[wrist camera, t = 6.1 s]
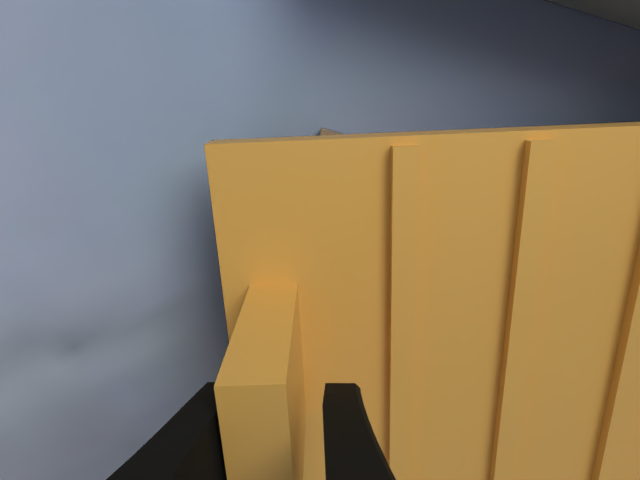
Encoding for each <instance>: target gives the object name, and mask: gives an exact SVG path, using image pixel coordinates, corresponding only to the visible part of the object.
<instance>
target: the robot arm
mask: <svg viewBox="0 0 640 480" xmlns="http://www.w3.org/2000/svg"><path fill="white" fill-rule="evenodd" d="M214 384H215V383H214V382H208V383H207V384H205V385H204V386H203V387H202V388H201V389H200V390H199V391H198V392H197V393H196V394H195V395H194V396H193V397H192V398H191V399H190V400H189V401H188V402H187V403H186V404H185V405H184V406H183V407H182V408H181V409H180V410H179V411H178V412H177V413H176V414H175V415H174V416H173V417H172V418H171V419H170V420H169V421H168V422H167V423H166V424H165V425H164V426H163V427H162V428H161V429H160V430H159V431H158V432H157V433H156V434H155V435H154V436H153V437H152V438H151V439H150V440H149V441H148V442H147V443H146V444H145V445H143V446H142V447H141V448H140V449H139V450H138V451H137V452H136V453H135V454H134V455H133V456H132V457H131V458H130V459H129V460H128V461H127V462H125V463H124V464H123V465H122V466H121V467H120V468H119V469H118V470H116V471H115V472H114V473H113V474H112V475H111V476H110V477H109V478H107V479H106V480H227V476H226V469H225V462H224V455H223V448H222V441H221V434H220V427H219V420H218V413H217V406H216V399H215V392H214ZM322 409H323V431H324V453H325V475H326V480H396V479H395V477H394V475H393V473H392V471H391V469H390V467H389V465H388V462H387V460H386V458H385V456H384V454H383V452H382V450H381V448H380V445H379V443H378V441H377V439H376V436H375V434H374V432H373V429H372V426H371V424H370V421H369V419H368V416H367V413H366V410H365V407H364V403H363V400H362V395H361V389H360V387H359V386H358V385H357V384H355V383H325V389H324V396H323V404H322Z"/></svg>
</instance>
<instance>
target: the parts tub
mask: <svg viewBox="0 0 640 480" xmlns="http://www.w3.org/2000/svg"><path fill="white" fill-rule="evenodd" d="M545 1H549V2H552V3H555V4H558V5H562V6H565V7H568V8H571V9H575V10H578V11H581V12H584V13H587V14H591V15H594V16H597V17H600V18H604V19H607V20H610V21H613V22H617V23H620V24H623V25H626V26H630V27H633V28H636V29H639V30H640V0H545Z"/></svg>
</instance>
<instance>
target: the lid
mask: <svg viewBox="0 0 640 480" xmlns="http://www.w3.org/2000/svg"><path fill="white" fill-rule="evenodd" d="M204 146H205V154H206V162H207V170H208V178H209V186H210V194H211V202H212V210H213V218H214V226H215V234H216V242H217V250H218V258H219V266H220V274H221V282H222V290H223V298H224V306H225V314H226V322H227V330H228V338H229V345H228V348H227V350H226V353H225V356H224V359H223V362H222V365H221V367H220V370H219V373H218V376H217V379H216V381H215V384H214V392H215V399H216V406H217V413H218V420H219V427H220V434H221V441H222V448H223V455H224V462H225V469H226V476H227V480H326V475H325V453H324V431H323V409H322V404H323V396H324V389H325V383H355V384H357V385H358V386H359V387H360V389H361V395H362V400H363V403H364V407H365V410H366V413H367V416H368V419H369V421H370V424H371V426H372V429H373V432H374V434H375V436H376V439H377V441H378V443H379V445H380V448H381V450H382V452H383V454H384V456H385V458H386V460H387V462H388V465H389V467H390V469H391V471H392V473H393V475H394V477H395V479H396V480H640V122H623V123H600V124H577V125H554V126H531V127H507V128H484V129H461V130H438V131H414V132H391V133H368V134H345V135H321V136H298V137H275V138H252V139H228V140H212V141H210V142H208V143H206V144H204Z"/></svg>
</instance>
